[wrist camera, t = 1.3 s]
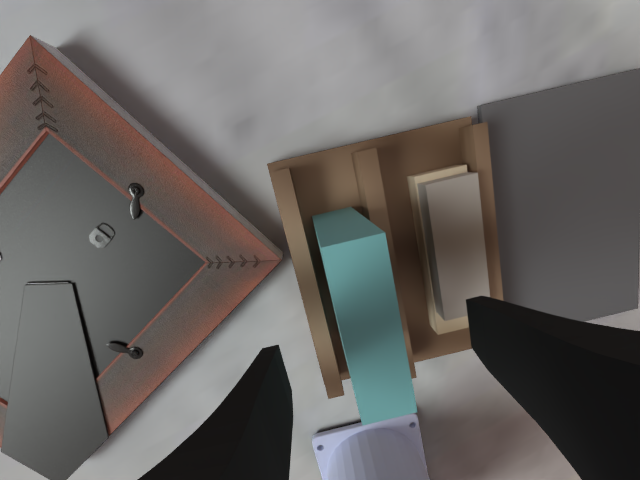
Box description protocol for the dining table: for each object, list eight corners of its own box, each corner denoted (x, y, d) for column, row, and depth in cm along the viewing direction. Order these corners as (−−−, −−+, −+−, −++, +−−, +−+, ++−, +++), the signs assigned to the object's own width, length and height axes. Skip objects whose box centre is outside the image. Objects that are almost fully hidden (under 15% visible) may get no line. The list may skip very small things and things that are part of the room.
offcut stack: (473, 314, 21) (495, 333, 18) (430, 325, 21) (446, 345, 18) (455, 164, 18) (478, 164, 16) (406, 176, 18) (422, 177, 16)
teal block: (375, 324, 20) (417, 412, 13) (339, 333, 20) (362, 425, 13) (351, 206, 19) (385, 232, 11) (311, 216, 19) (320, 248, 11)
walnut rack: (485, 335, 22) (513, 360, 19) (323, 374, 22) (327, 406, 19) (462, 118, 19) (492, 110, 16) (268, 163, 19) (263, 163, 16)
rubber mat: (631, 305, 23) (637, 308, 22) (499, 338, 23) (503, 341, 22) (636, 69, 19) (643, 67, 18) (477, 106, 19) (481, 105, 18)
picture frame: (85, 453, 23) (284, 250, 21) (60, 487, 21) (282, 261, 18) (-141, 315, 20) (64, 52, 17) (-202, 336, 17) (26, 33, 15)
